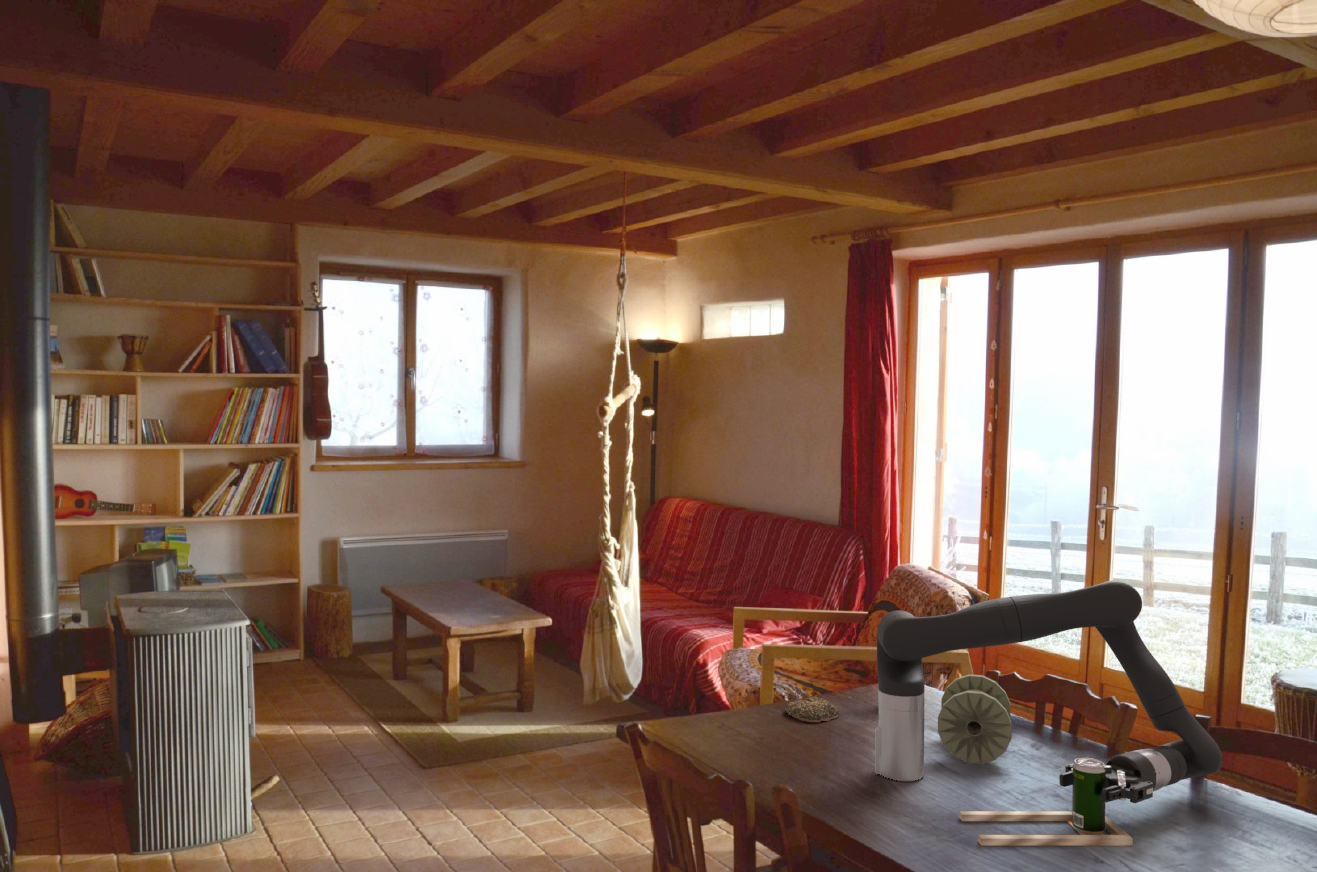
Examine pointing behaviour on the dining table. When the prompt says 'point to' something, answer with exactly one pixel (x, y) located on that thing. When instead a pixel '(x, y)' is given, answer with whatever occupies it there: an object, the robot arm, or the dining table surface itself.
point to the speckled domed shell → (812, 709)
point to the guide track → (1115, 839)
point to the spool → (975, 719)
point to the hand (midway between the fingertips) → (1082, 788)
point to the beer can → (1088, 796)
